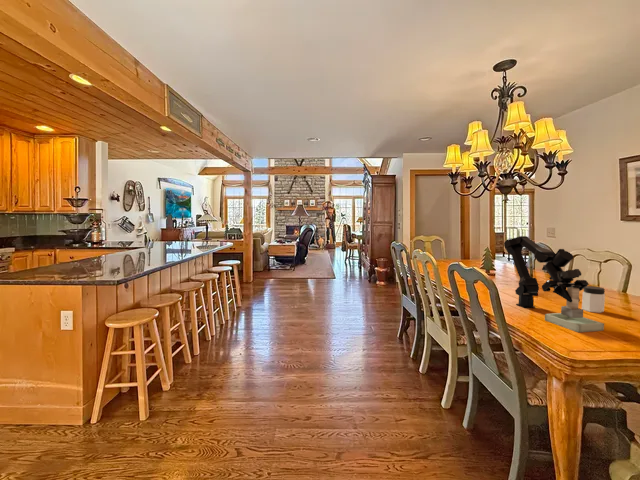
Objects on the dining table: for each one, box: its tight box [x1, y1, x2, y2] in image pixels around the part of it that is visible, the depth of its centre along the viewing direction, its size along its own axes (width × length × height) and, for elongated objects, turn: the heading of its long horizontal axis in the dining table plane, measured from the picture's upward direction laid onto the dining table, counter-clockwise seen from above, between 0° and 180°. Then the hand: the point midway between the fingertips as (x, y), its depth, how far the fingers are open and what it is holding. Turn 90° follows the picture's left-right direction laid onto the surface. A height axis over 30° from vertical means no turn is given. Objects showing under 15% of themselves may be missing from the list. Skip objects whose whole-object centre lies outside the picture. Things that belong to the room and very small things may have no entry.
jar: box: [581, 285, 606, 314], centre depth 164 cm, size 9×8×12 cm
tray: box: [544, 312, 605, 333], centre depth 142 cm, size 16×13×3 cm
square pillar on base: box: [560, 287, 584, 318], centre depth 142 cm, size 6×5×12 cm
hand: (575, 301), depth 141 cm, fingers closed on square pillar on base, 3 cm apart
